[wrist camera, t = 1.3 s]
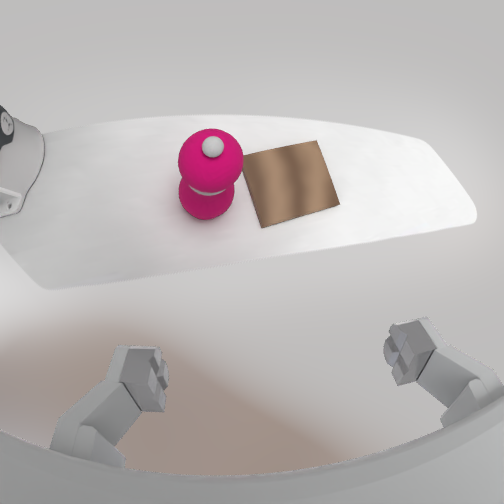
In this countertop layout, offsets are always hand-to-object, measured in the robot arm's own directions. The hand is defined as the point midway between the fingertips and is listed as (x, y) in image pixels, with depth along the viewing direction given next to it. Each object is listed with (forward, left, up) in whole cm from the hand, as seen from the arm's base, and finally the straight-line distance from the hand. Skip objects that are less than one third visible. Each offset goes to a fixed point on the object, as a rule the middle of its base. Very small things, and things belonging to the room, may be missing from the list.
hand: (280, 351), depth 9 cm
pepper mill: (+2, +12, -32) cm, 35 cm away
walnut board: (+15, +11, -32) cm, 37 cm away
